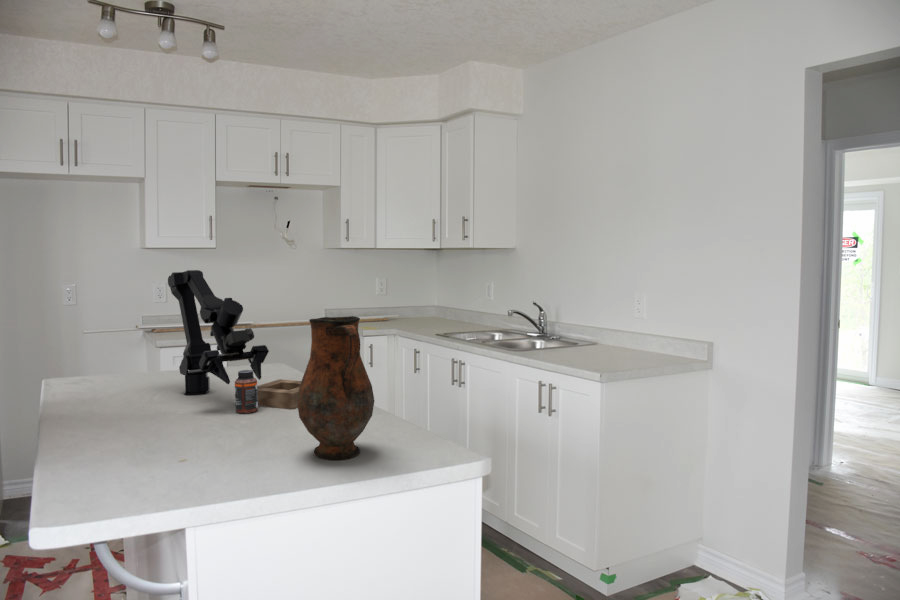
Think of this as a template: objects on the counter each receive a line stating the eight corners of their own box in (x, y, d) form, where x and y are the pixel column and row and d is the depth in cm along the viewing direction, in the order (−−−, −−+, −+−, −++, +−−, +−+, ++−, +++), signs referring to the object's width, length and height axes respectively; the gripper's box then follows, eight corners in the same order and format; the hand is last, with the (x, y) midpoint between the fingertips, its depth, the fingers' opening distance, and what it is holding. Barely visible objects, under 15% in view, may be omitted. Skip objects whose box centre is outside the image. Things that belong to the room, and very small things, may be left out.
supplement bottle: (262, 410, 188) (261, 370, 187) (247, 414, 183) (246, 373, 182) (245, 408, 191) (244, 368, 190) (230, 412, 185) (229, 372, 184)
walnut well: (246, 404, 195) (245, 389, 194) (279, 393, 210) (279, 379, 209) (292, 409, 189) (292, 393, 189) (323, 397, 204) (323, 382, 203)
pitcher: (358, 438, 159) (356, 312, 157) (394, 463, 141) (393, 320, 139) (288, 448, 152) (285, 315, 149) (317, 475, 133) (314, 324, 131)
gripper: (201, 322, 183) (220, 367, 176) (264, 317, 196) (284, 359, 188) (191, 348, 189) (209, 392, 182) (252, 341, 202) (271, 383, 195)
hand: (244, 380), depth 186 cm, fingers open, 9 cm apart
